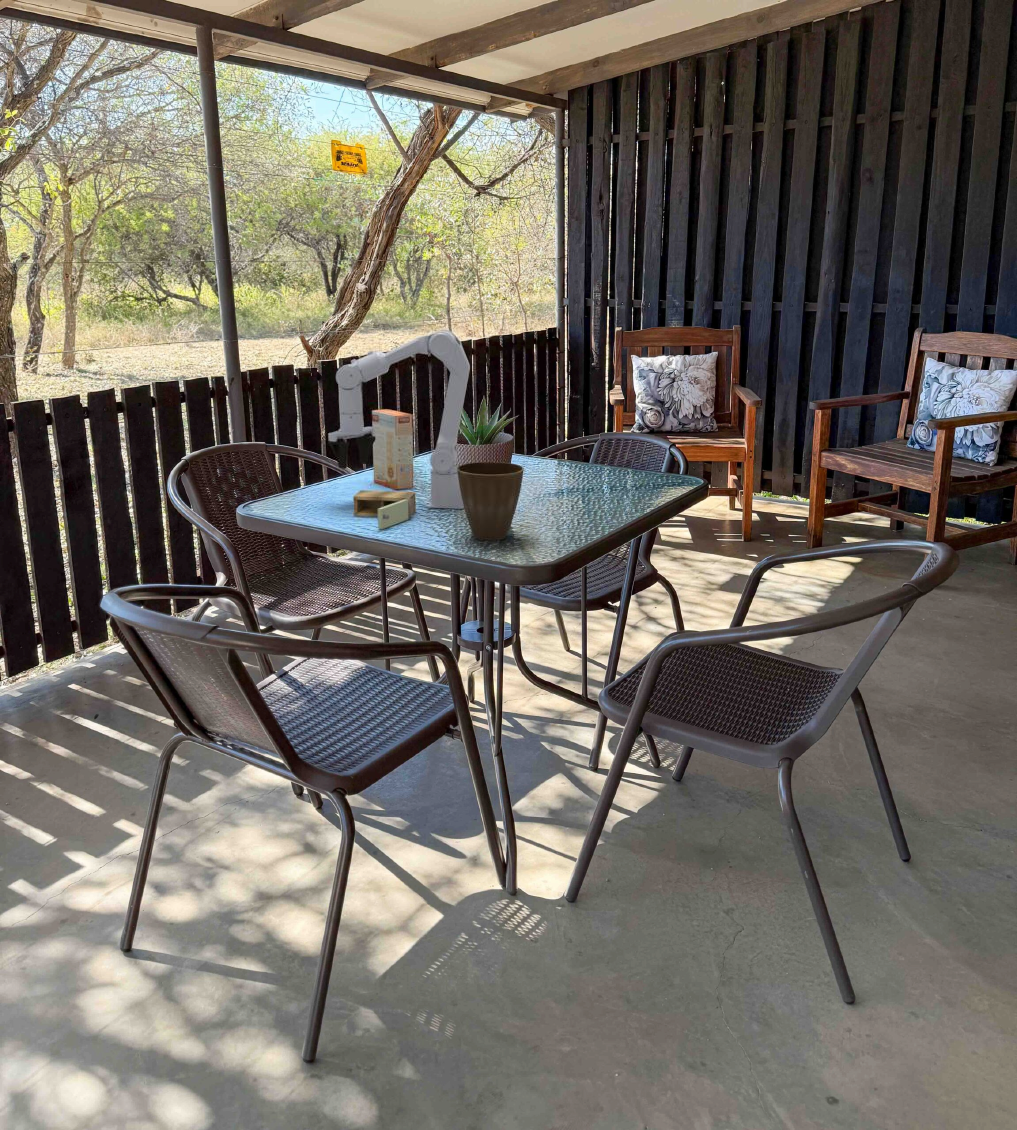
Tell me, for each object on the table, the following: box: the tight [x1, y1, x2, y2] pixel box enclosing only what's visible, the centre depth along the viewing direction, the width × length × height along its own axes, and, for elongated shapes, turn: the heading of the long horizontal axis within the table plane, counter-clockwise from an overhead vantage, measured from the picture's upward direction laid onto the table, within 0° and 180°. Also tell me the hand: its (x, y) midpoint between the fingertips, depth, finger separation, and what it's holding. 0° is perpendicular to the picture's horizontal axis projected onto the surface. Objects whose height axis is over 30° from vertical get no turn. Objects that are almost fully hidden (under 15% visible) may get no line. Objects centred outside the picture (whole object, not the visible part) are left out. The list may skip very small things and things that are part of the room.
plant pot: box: [456, 461, 525, 542], centre depth 215 cm, size 15×15×16 cm
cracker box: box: [371, 408, 414, 491], centre depth 269 cm, size 14×6×21 cm, turn 34°
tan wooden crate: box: [352, 489, 417, 518], centre depth 237 cm, size 14×7×5 cm, turn 83°
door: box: [377, 498, 412, 530], centre depth 227 cm, size 13×2×5 cm, turn 153°
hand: (353, 465), depth 246 cm, fingers open, 7 cm apart
